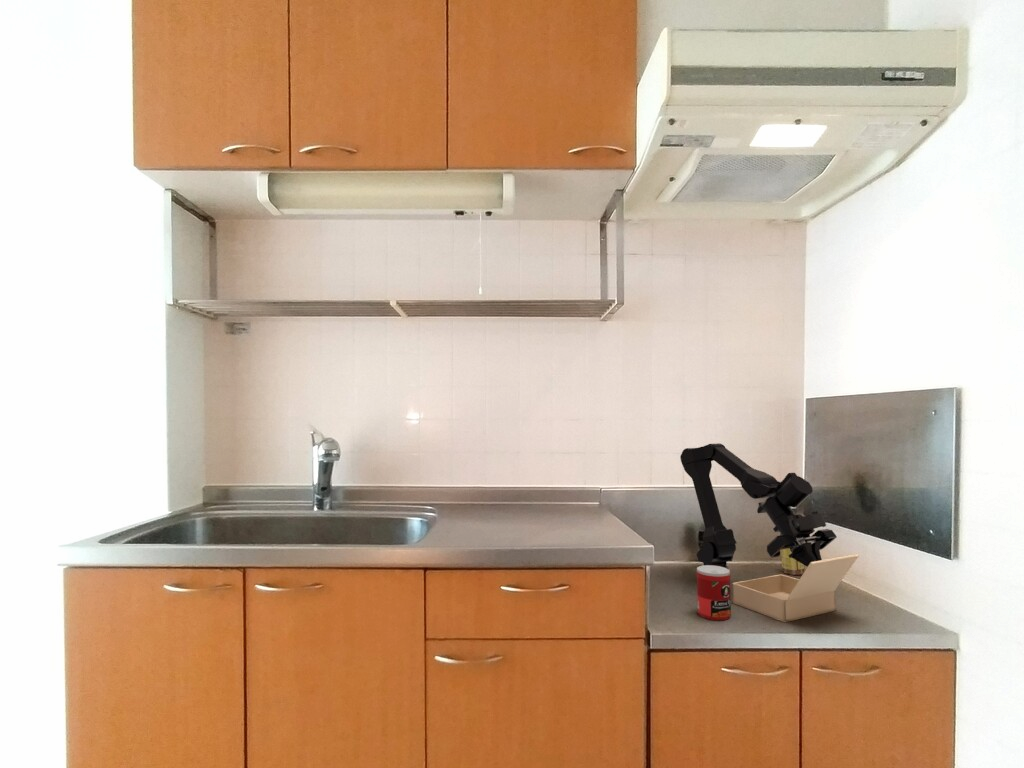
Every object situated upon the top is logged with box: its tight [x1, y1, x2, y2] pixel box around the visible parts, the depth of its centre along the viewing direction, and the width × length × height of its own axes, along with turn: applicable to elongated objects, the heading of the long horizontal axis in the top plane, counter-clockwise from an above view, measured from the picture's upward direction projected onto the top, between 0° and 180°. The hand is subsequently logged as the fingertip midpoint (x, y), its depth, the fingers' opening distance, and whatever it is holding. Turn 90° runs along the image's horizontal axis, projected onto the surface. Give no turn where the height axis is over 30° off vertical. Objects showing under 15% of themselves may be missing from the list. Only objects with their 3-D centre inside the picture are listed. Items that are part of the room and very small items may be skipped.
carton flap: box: [787, 553, 859, 600], centre depth 141 cm, size 12×16×1 cm
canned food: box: [696, 565, 732, 621], centre depth 145 cm, size 8×8×11 cm
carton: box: [731, 573, 837, 623], centre depth 151 cm, size 16×18×5 cm
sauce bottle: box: [779, 507, 806, 576], centre depth 182 cm, size 7×6×20 cm
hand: (823, 574), depth 141 cm, fingers closed, pressing on carton flap
